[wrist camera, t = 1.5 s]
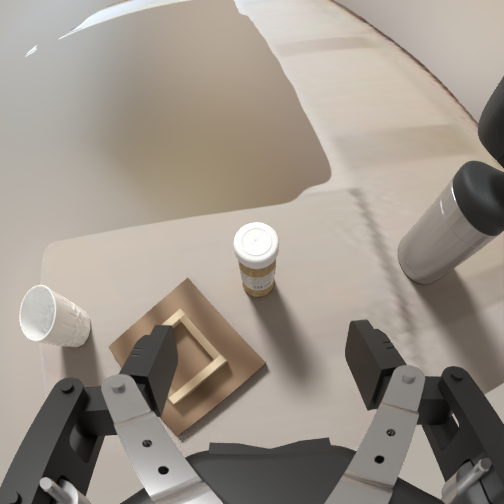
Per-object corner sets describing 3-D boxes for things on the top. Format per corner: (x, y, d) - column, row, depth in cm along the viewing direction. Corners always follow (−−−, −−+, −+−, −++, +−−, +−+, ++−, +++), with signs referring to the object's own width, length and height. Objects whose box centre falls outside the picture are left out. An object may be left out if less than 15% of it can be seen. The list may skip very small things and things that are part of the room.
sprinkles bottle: (274, 267, 41) (279, 221, 29) (273, 298, 39) (279, 262, 27) (242, 267, 42) (234, 220, 29) (241, 297, 40) (231, 262, 27)
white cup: (75, 294, 40) (39, 274, 31) (102, 325, 38) (64, 309, 29) (51, 328, 38) (12, 314, 29) (76, 361, 36) (36, 353, 27)
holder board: (189, 280, 41) (184, 272, 38) (265, 362, 36) (266, 362, 33) (112, 347, 37) (101, 345, 34) (179, 434, 32) (172, 439, 29)
